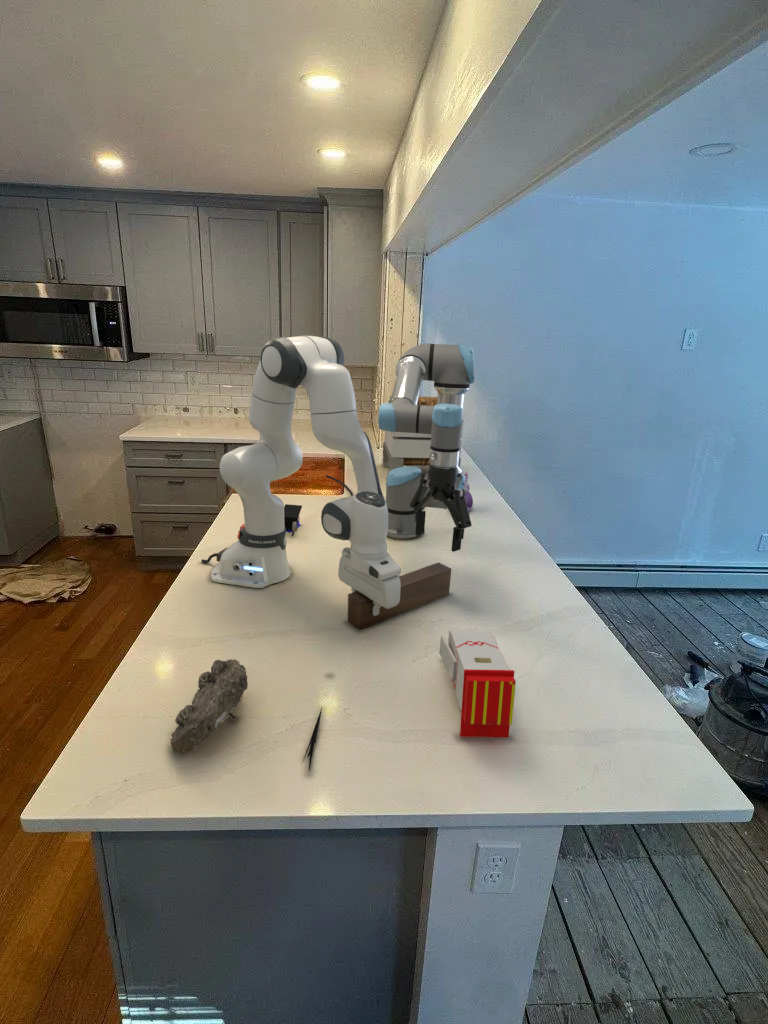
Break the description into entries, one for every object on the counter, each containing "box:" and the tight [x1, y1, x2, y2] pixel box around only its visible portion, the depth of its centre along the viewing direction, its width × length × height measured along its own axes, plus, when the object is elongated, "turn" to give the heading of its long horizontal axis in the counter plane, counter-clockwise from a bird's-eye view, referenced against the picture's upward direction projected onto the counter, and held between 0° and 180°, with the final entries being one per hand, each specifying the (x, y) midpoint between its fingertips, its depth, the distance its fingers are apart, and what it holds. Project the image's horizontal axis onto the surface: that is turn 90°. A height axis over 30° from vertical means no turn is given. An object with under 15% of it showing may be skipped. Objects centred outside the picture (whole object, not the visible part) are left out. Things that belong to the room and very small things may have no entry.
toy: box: [438, 628, 517, 738], centre depth 117 cm, size 12×13×30 cm
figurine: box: [463, 472, 474, 512], centre depth 225 cm, size 9×10×15 cm
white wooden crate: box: [381, 396, 464, 473], centre depth 268 cm, size 34×33×41 cm
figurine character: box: [284, 503, 303, 537], centre depth 197 cm, size 7×8×15 cm
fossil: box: [170, 658, 249, 753], centre depth 106 cm, size 22×10×15 cm
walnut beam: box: [347, 562, 452, 632], centre depth 149 cm, size 5×32×8 cm, turn 131°
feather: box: [301, 673, 332, 771], centre depth 108 cm, size 2×28×2 cm
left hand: (366, 609), depth 142 cm, fingers closed on walnut beam, 5 cm apart
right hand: (437, 542), depth 153 cm, fingers open, 13 cm apart
